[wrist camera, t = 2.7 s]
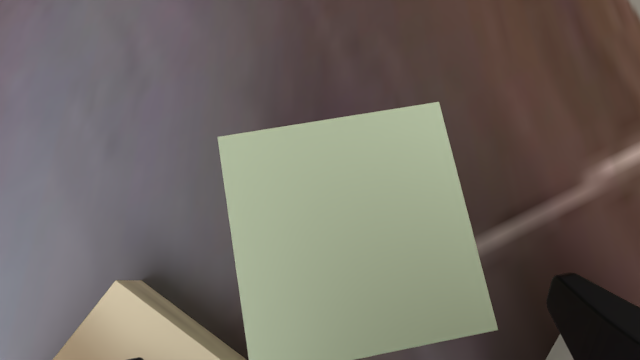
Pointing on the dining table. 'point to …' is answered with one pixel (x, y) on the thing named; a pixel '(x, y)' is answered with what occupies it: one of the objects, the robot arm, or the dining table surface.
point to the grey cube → (559, 351)
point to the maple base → (141, 330)
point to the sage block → (352, 237)
